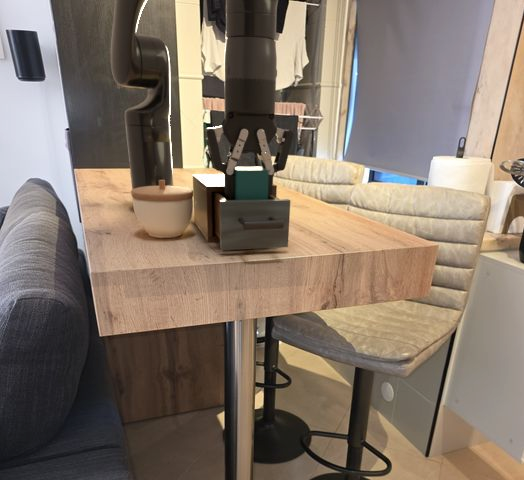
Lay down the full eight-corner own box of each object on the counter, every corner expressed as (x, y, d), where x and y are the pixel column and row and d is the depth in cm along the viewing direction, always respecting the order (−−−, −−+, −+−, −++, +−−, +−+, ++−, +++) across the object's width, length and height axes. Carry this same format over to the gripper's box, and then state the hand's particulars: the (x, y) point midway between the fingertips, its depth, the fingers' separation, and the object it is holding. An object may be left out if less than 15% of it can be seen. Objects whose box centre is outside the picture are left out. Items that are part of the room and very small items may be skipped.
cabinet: (274, 239, 83) (276, 185, 78) (207, 241, 79) (206, 186, 75) (252, 220, 96) (253, 174, 92) (194, 222, 93) (192, 174, 89)
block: (230, 198, 75) (230, 166, 73) (259, 198, 77) (260, 166, 74) (237, 204, 71) (237, 170, 69) (267, 203, 72) (268, 170, 70)
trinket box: (132, 229, 86) (126, 176, 82) (187, 226, 90) (185, 175, 85) (139, 243, 77) (134, 185, 73) (200, 239, 81) (199, 183, 77)
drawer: (298, 255, 70) (301, 206, 67) (228, 259, 67) (227, 207, 64) (263, 227, 87) (264, 186, 83) (205, 229, 84) (204, 187, 80)
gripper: (288, 81, 71) (282, 194, 79) (197, 76, 67) (200, 195, 75) (305, 78, 65) (297, 202, 73) (205, 73, 61) (208, 204, 69)
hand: (248, 198), depth 74 cm, fingers closed on block, 5 cm apart
